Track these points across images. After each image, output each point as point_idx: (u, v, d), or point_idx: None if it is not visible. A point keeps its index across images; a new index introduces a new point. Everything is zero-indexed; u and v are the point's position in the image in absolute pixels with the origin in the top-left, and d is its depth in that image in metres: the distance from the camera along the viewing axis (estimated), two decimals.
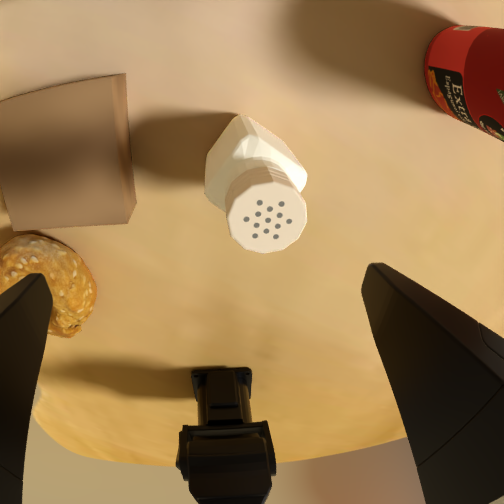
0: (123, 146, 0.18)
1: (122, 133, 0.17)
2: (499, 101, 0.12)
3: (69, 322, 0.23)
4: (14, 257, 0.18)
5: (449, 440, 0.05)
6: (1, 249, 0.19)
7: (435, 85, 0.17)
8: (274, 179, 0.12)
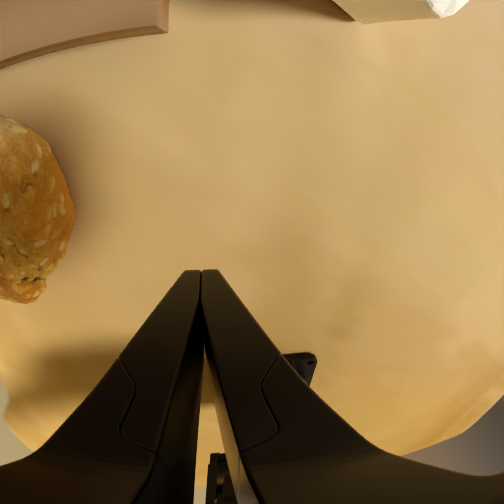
0: None
1: None
2: None
3: (22, 269, 0.12)
4: None
5: (239, 490, 0.04)
6: None
7: None
8: None
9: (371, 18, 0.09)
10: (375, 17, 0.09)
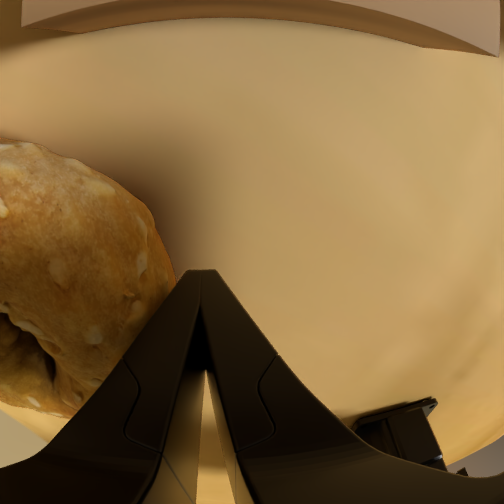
0: None
1: None
2: None
3: None
4: None
5: (236, 490, 0.04)
6: None
7: None
8: None
9: None
10: None
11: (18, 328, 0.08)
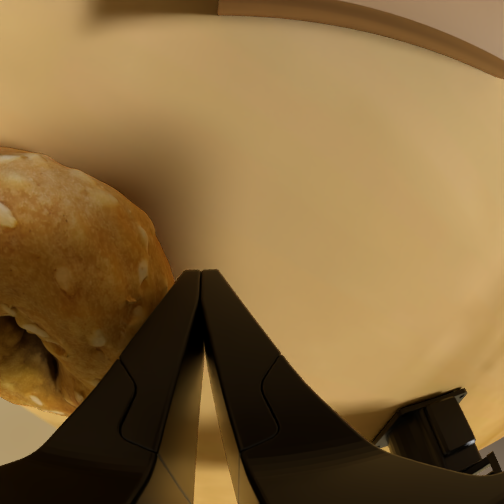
0: None
1: None
2: None
3: None
4: None
5: (239, 490, 0.04)
6: None
7: None
8: None
9: None
10: None
11: (22, 330, 0.08)
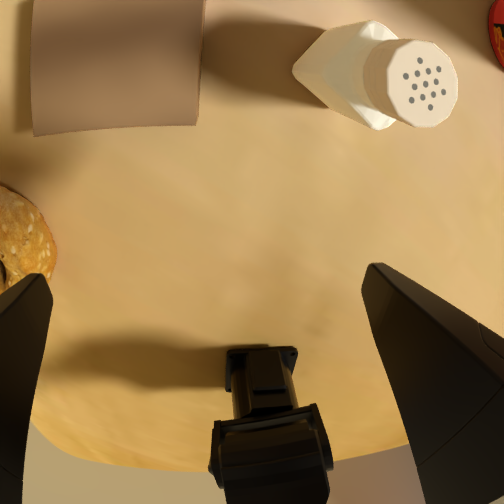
0: (201, 37, 0.13)
1: (202, 23, 0.13)
2: None
3: None
4: None
5: (449, 440, 0.05)
6: None
7: (501, 40, 0.13)
8: (430, 43, 0.08)
9: (340, 113, 0.16)
10: (342, 114, 0.16)
11: None
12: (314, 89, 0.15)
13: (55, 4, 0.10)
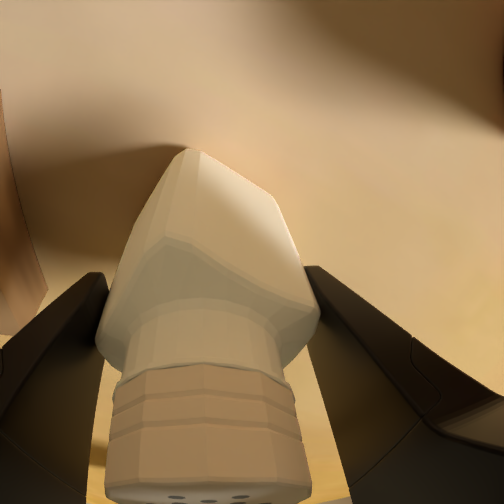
0: None
1: None
2: None
3: None
4: None
5: (374, 466, 0.05)
6: None
7: None
8: (214, 462, 0.03)
9: None
10: None
11: None
12: None
13: None
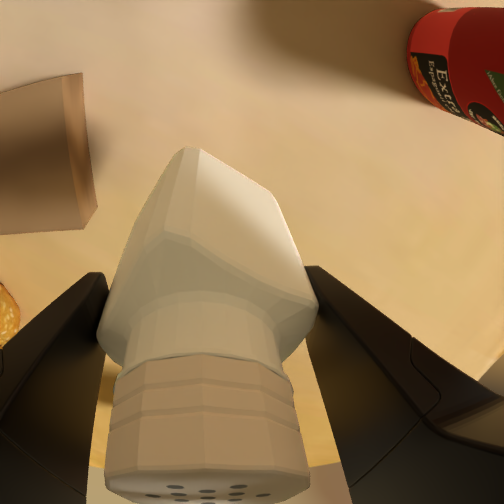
0: (78, 148, 0.16)
1: (76, 134, 0.15)
2: (488, 84, 0.10)
3: None
4: None
5: (373, 467, 0.05)
6: None
7: (418, 73, 0.15)
8: (211, 449, 0.03)
9: None
10: None
11: None
12: None
13: None
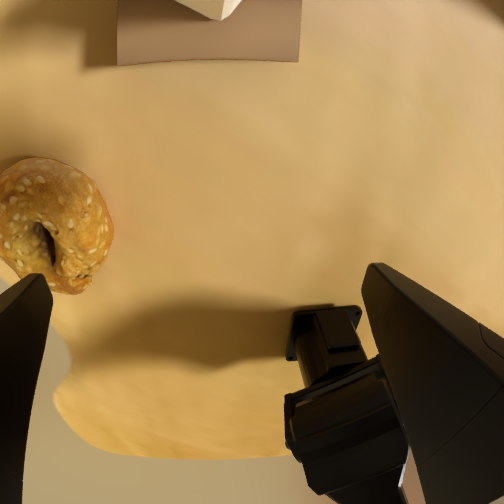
0: None
1: None
2: None
3: (77, 269, 0.19)
4: (15, 179, 0.14)
5: (449, 440, 0.05)
6: (0, 175, 0.15)
7: None
8: None
9: (212, 15, 0.11)
10: (212, 14, 0.10)
11: (40, 239, 0.19)
12: None
13: None
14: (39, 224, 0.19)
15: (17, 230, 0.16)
